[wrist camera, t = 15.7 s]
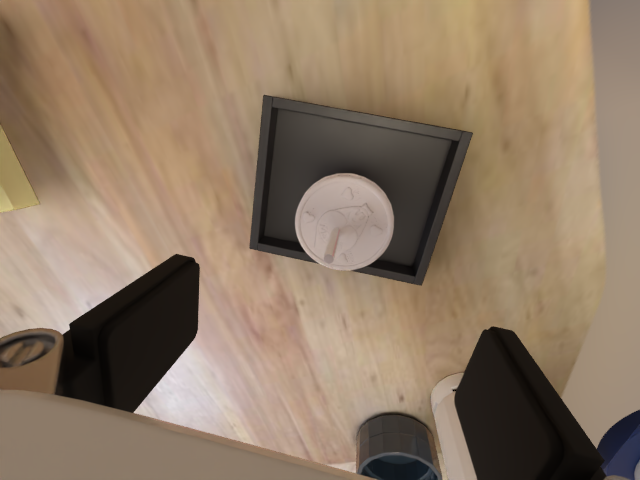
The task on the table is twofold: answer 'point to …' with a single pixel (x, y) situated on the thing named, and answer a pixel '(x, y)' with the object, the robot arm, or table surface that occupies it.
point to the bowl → (396, 450)
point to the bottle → (451, 430)
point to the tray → (364, 160)
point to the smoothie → (344, 221)
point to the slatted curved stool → (13, 180)
